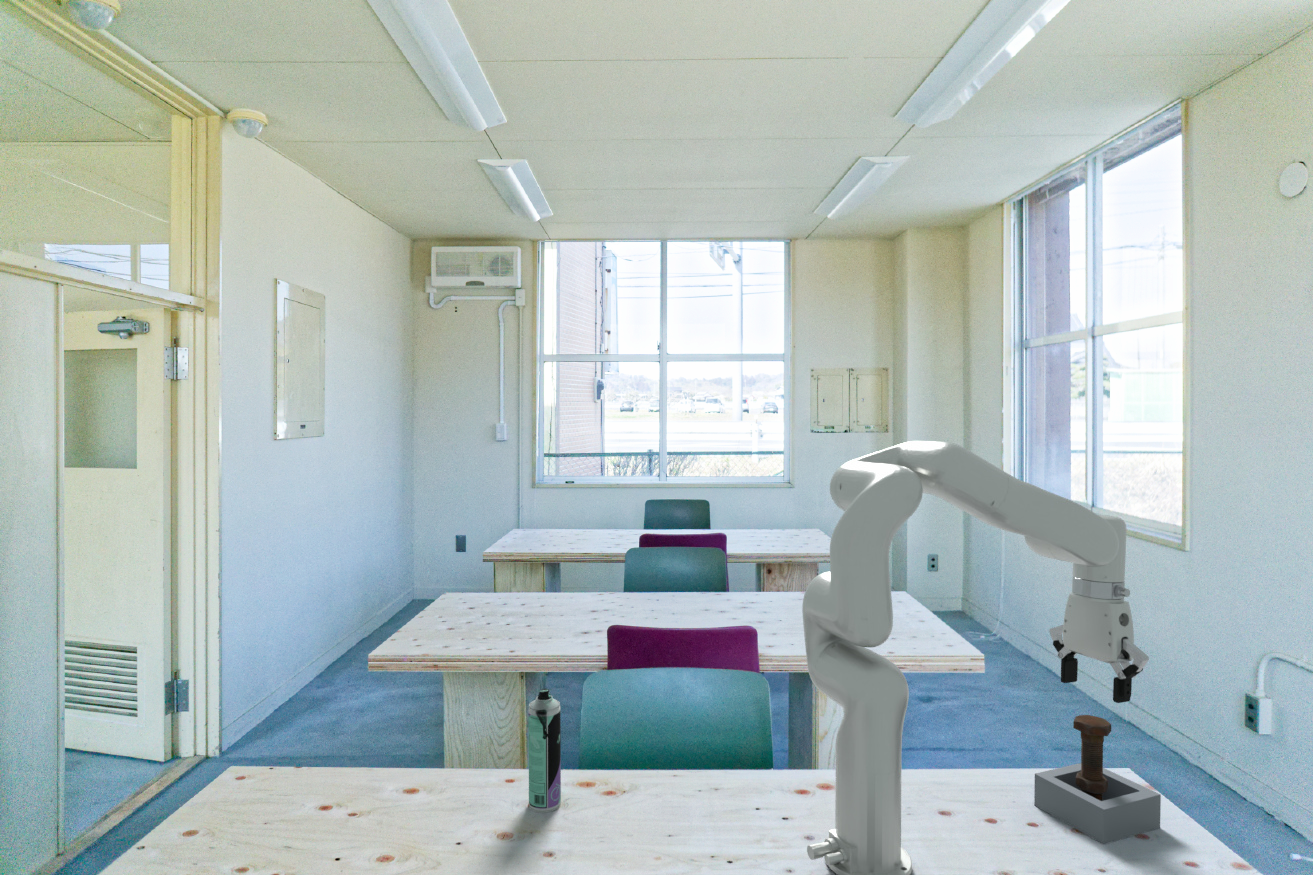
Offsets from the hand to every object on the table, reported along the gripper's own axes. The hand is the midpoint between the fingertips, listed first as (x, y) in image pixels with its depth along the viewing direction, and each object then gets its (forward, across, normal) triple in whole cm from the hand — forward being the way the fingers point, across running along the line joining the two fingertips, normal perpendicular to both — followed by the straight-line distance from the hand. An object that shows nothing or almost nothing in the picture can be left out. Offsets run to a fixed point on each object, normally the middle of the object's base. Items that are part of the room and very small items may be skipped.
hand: (1094, 691), depth 126 cm
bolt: (+20, +1, -1) cm, 20 cm away
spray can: (+24, +38, +84) cm, 95 cm away
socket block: (+21, 0, -1) cm, 21 cm away
